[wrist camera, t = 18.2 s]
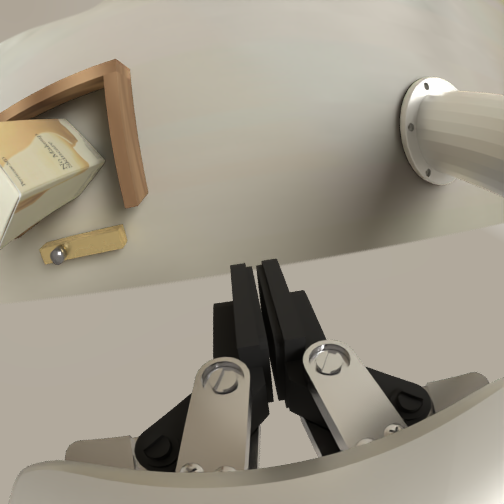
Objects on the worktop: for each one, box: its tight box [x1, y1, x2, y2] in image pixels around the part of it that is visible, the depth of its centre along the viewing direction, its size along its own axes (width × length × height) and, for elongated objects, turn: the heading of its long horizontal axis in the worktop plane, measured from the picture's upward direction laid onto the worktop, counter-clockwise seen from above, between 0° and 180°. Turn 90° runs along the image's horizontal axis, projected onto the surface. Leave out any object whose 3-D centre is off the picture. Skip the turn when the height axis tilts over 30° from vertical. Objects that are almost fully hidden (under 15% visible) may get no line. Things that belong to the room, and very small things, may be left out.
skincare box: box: [0, 119, 105, 250], centre depth 13 cm, size 6×4×12 cm
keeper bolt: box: [39, 224, 127, 265], centre depth 21 cm, size 9×2×3 cm, turn 96°
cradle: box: [0, 59, 148, 239], centre depth 17 cm, size 13×11×4 cm
